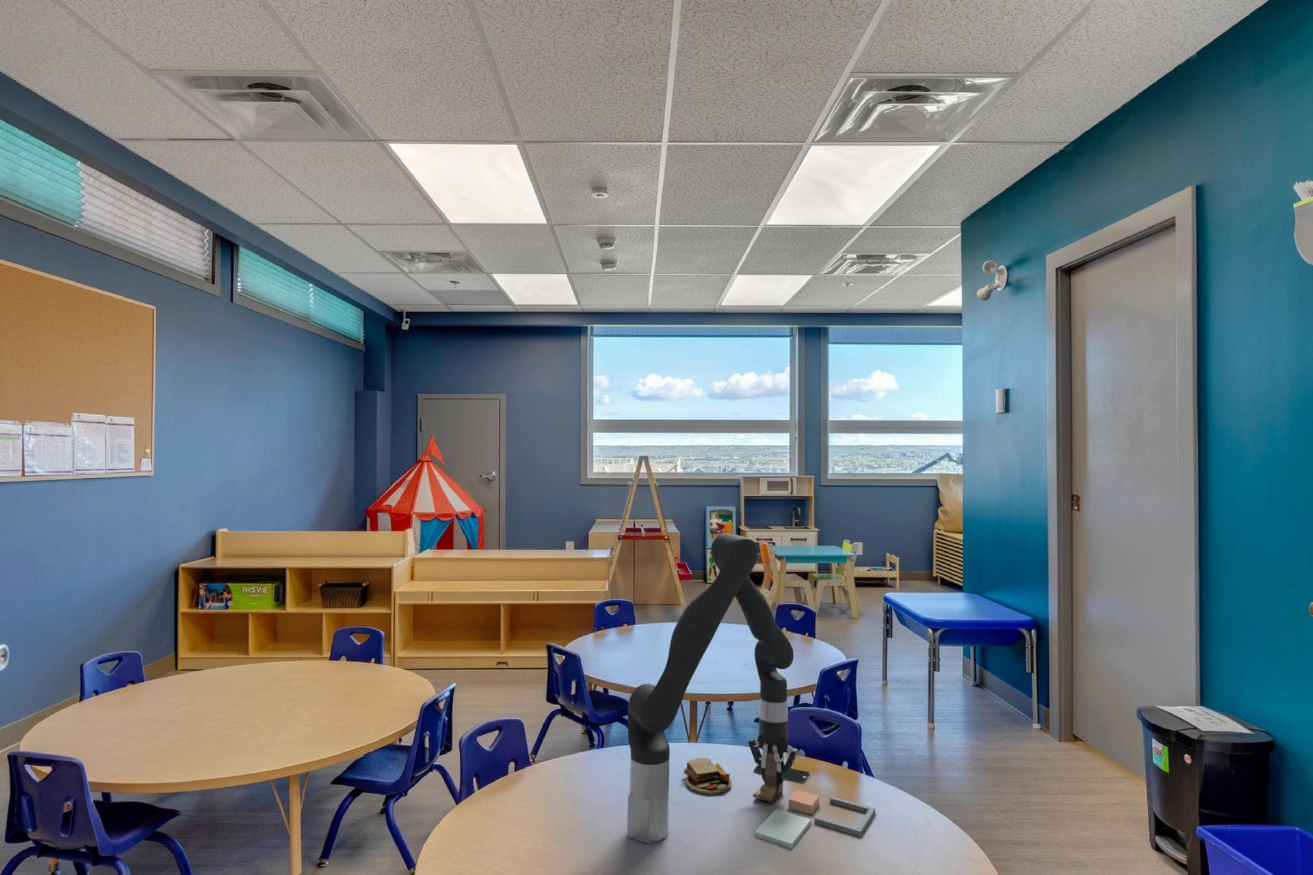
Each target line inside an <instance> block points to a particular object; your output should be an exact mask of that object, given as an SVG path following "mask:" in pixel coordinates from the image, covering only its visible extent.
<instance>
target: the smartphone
mask: <svg viewBox="0 0 1313 875" xmlns="http://www.w3.org/2000/svg"><path fill="white" fill-rule="evenodd" d="M756 773H757V775H761V776H762V767H761V765H760V764H756V766H755V768H754V769H753V774H756ZM810 776H811V773H810V772H808V771H806V770H801V769H796V768H792V767H791V768H790V769H789V770H788V771H787V772H785V771H784V781H787V782H788V781H789V782H793V783H796V784H806V783H807V781H808V779H809V778H810Z"/></svg>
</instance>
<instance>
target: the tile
mask: <svg viewBox="0 0 1313 875" xmlns="http://www.w3.org/2000/svg"><path fill="white" fill-rule="evenodd" d="M817 806H818V807H819V806H820V795H818V794H817V795H816V794H813V793H809V792H806V791H802V790H799V789H796V790H795V792H793V793H792V795H791V796H790V797H789V798H788V808H789V809H791V810H794V809H795V810H796V811H798V812H801V813H805V812H806V814H808V813H809V814H808V815H813V813H814V812H815V811H816V810H817V808H818V807H817ZM816 807H817V808H816ZM814 810H815V811H814Z"/></svg>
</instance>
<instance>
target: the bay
mask: <svg viewBox="0 0 1313 875" xmlns="http://www.w3.org/2000/svg"><path fill="white" fill-rule="evenodd" d="M832 803H833V805H836V806H839V807H844V808H847V809H850V810H854V811H857V812H861V813H864V814H865V815H864V816H863V818H862V819H861V821H860V822H859V824H858V825H857V827H855V826H852V825H847V824H845V823H842V822H837V821H834V820H831V819H828V818H824V817H821V816H818V815H815V817H813V819H814V820H813V822H815V823H814V824H816V823H817V824H816V825H819V826H822V825H824V826H823V827H826V828H829V827H830V829H834V830H836V831H840V832H843V833H846V834H849V835H853V836H856V837H859V838H861V837H862V835H863V834H864V832H865V831H866V829H867V827H868V826H869V824H870V822H872V821H871V820H872V819H873V817H874V816H875V815H876V807H873V806H867V805H864V804H860V803H856V802H853V801H850V800H847V799H842V798H839V797H836V796H832V795H831V796H830V798H829V804H832Z"/></svg>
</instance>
